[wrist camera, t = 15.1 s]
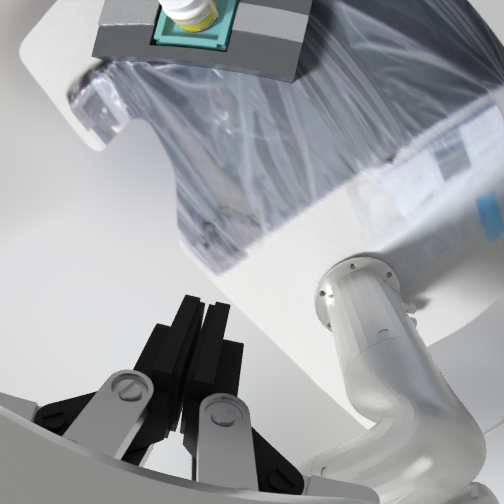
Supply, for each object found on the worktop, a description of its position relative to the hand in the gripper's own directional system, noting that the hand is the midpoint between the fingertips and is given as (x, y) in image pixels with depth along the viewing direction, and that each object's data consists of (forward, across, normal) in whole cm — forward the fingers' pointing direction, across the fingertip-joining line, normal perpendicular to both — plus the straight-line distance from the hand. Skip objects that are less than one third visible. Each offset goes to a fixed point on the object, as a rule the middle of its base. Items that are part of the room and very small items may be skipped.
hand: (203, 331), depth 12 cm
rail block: (+29, +10, -19) cm, 36 cm away
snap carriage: (+28, +10, -19) cm, 35 cm away
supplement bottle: (+26, +10, -19) cm, 34 cm away
